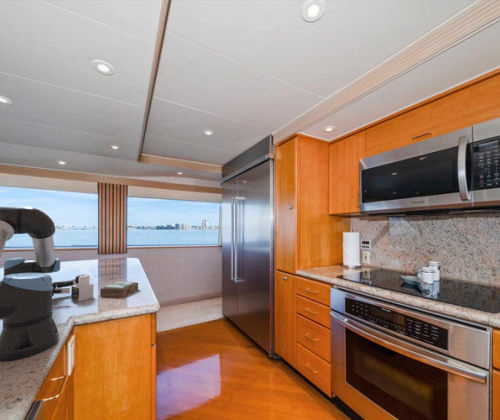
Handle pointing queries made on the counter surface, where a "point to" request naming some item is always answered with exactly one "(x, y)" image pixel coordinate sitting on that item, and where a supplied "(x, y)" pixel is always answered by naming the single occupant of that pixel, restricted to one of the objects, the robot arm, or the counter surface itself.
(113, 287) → the walnut stand
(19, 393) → the counter surface
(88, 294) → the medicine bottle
